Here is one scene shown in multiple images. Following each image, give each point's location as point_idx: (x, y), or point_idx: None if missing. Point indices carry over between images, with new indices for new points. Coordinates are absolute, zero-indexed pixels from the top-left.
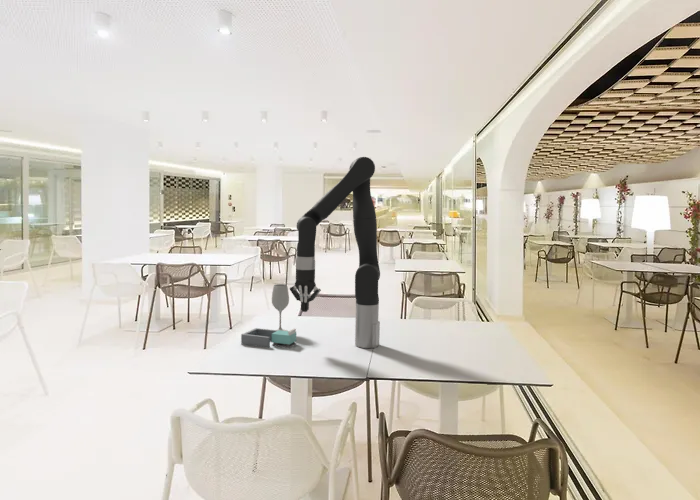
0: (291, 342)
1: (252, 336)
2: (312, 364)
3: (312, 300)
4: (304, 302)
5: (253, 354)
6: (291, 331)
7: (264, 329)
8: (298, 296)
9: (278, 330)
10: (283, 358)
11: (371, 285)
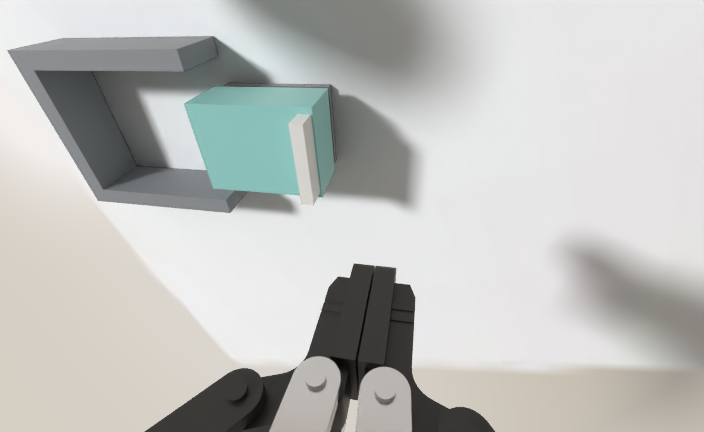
0: (332, 154)
1: (153, 204)
2: (515, 314)
3: (476, 426)
4: (357, 387)
5: (266, 266)
6: (312, 185)
7: (71, 62)
8: (210, 423)
9: (187, 109)
10: None
11: None
